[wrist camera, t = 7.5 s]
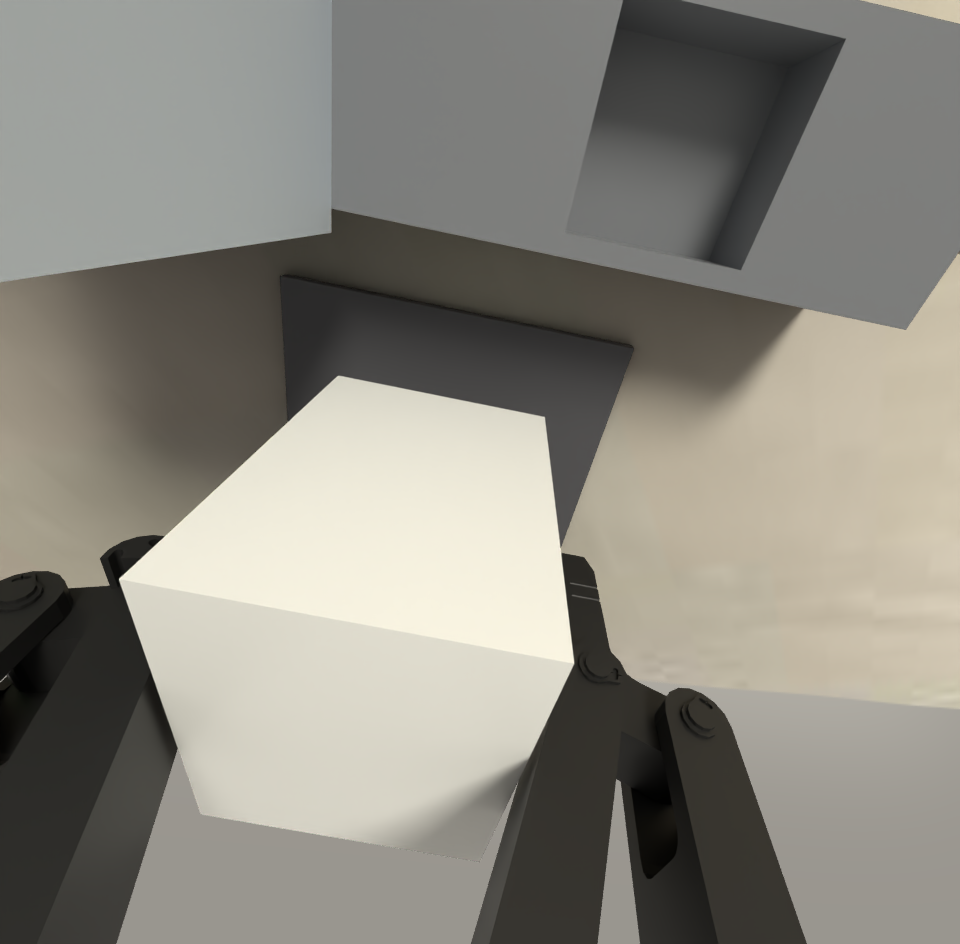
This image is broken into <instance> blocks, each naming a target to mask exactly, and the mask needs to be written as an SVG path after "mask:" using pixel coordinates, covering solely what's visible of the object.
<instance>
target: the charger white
mask: <svg viewBox="0 0 960 944" xmlns="http://www.w3.org/2000/svg"><path fill="white" fill-rule="evenodd" d="M119 581H120V584H121V587H122V590H123V593H124V596H125V599H126V601H127V604H128V607H129V610H130V613H131V616H132V619H133V621H134V624H135V627H136V630H137V633H138V636H139V639H140V641H141V644H142V647H143V650H144V653H145V656H146V659H147V662H148V664H149V667H150V670H151V673H152V676H153V679H154V682H155V684H156V687H157V690H158V693H159V696H160V699H161V702H162V705H163V707H164V710H165V713H166V716H167V719H168V722H169V725H170V727H171V730H172V733H173V736H174V739H175V742H176V745H177V748H178V750H179V753H180V756H181V759H182V762H183V764H184V768H185V770H186V773H187V776H188V779H189V782H190V785H191V788H192V790H193V793H194V796H195V799H196V802H197V805H198V808H199V810H200V813H201V814H202V815H207V816H213V817H219V818H225V819H231V820H237V821H242V822H249V823H254V824H260V825H266V826H271V827H277V828H283V829H289V830H295V831H301V832H307V833H312V834H318V835H324V836H330V837H336V838H341V839H347V840H353V841H359V842H365V843H371V844H377V845H382V846H388V847H394V848H400V849H406V850H411V851H417V852H423V853H429V854H435V855H441V856H447V857H453V858H458V859H464V860H470V861H476V862H480V860H481V858H482V856H483V854H484V852H485V850H486V848H487V846H488V844H489V841H490V839H491V837H492V835H493V833H494V831H495V829H496V827H497V825H498V823H499V821H500V818H501V816H502V814H503V812H504V810H505V808H506V806H507V804H508V802H509V800H510V798H511V795H512V793H513V791H514V789H515V787H516V785H517V783H518V781H519V779H520V777H521V774H522V772H523V770H524V768H525V766H526V764H527V762H528V760H529V758H530V756H531V753H532V751H533V749H534V747H535V745H536V743H537V741H538V739H539V737H540V735H541V732H542V730H543V728H544V726H545V724H546V722H547V720H548V718H549V716H550V714H551V711H552V709H553V707H554V705H555V703H556V701H557V699H558V697H559V695H560V693H561V690H562V688H563V686H564V684H565V682H566V680H567V678H568V676H569V674H570V672H571V669H572V667H573V665H574V657H573V649H572V641H571V632H570V624H569V616H568V607H567V599H566V590H565V582H564V574H563V565H562V557H561V549H560V540H559V532H558V524H557V515H556V507H555V498H554V490H553V482H552V473H551V465H550V457H549V448H548V440H547V432H546V423H545V417H542V416H537V415H532V414H527V413H522V412H517V411H512V410H507V409H502V408H498V407H493V406H488V405H483V404H478V403H473V402H468V401H463V400H458V399H453V398H448V397H443V396H438V395H433V394H428V393H423V392H418V391H413V390H408V389H403V388H398V387H393V386H388V385H383V384H378V383H373V382H368V381H363V380H358V379H353V378H348V377H343V376H337V377H336V378H335V379H334V380H333V381H332V382H331V383H330V384H328V385H327V386H326V387H325V388H324V389H323V390H322V391H321V392H320V393H319V394H318V395H317V396H316V397H314V398H313V399H312V400H311V401H310V402H309V403H308V404H307V405H306V406H305V407H304V408H303V409H302V410H300V411H299V412H298V413H297V414H296V415H295V416H294V417H293V418H292V419H291V420H290V421H289V422H288V423H286V424H285V425H284V426H283V427H282V428H281V429H280V430H279V431H278V432H277V433H276V434H275V435H274V436H272V437H271V438H270V439H269V440H268V441H267V442H266V443H265V444H264V445H263V446H262V447H261V448H260V449H258V450H257V451H256V452H255V453H254V454H253V455H252V456H251V457H250V458H249V459H248V460H247V461H246V462H244V463H243V464H242V465H241V466H240V467H239V468H238V469H237V470H236V471H235V472H234V473H233V474H232V475H230V476H229V477H228V478H227V479H226V480H225V481H224V482H223V483H222V484H221V485H220V486H219V487H218V488H216V489H215V490H214V491H213V492H212V493H211V494H210V495H209V496H208V497H207V498H206V499H205V500H204V501H202V502H201V503H200V504H199V505H198V506H197V507H196V508H195V509H194V510H193V511H192V512H191V513H190V514H188V515H187V516H186V517H185V518H184V519H183V520H182V521H181V522H180V523H179V524H178V525H177V526H176V527H174V528H173V529H172V530H171V531H170V532H169V533H168V534H167V535H166V536H165V537H164V538H163V539H162V540H160V541H159V542H158V543H157V544H156V545H155V546H154V547H153V548H152V549H151V550H150V551H149V552H148V553H146V554H145V555H144V556H143V557H142V558H141V559H140V560H139V561H138V562H137V563H136V564H135V565H134V566H132V567H131V568H130V569H129V570H128V571H127V572H126V573H125V574H124V575H123V576H122V577H121V578H120V579H119Z"/></svg>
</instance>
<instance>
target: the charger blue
mask: <svg viewBox="0 0 960 944" xmlns="http://www.w3.org/2000/svg"><path fill="white" fill-rule="evenodd" d="M331 167H332V0H0V282H5V281H12V280H19V279H25V278H32V277H39V276H45V275H52V274H59V273H65V272H72V271H79V270H86V269H92V268H99V267H106V266H112V265H119V264H126V263H132V262H139V261H146V260H152V259H159V258H166V257H173V256H179V255H186V254H193V253H199V252H206V251H213V250H219V249H226V248H233V247H239V246H246V245H253V244H260V243H266V242H273V241H280V240H286V239H293V238H300V237H306V236H313V235H320V234H326V233H331Z"/></svg>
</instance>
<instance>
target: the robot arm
mask: <svg viewBox="0 0 960 944" xmlns="http://www.w3.org/2000/svg"><path fill="white" fill-rule="evenodd" d="M164 537H165V536H157V535H150V536H141V537H136V538H133V539H130V540H126V541H123V542H121V543H119V544H118V545H116V546H114V547H112V548H110V549H109V550H108V551H107V552H106V553H105V554H104V555H103V556H102V557H101V558H100V560H101V563H102V565H103V568H104V571H105V574H106V576H107V579H108V582H109V585H110V586H100V587H85V588H69V589H68V587H67V585H66V583H65V581H64V580H63V579H62V577H61V576H60V575H58V574H55V573H52V572H49V571H32V572H27V573H22V574H18V575H14V576H11V577H9V578H6V579H3V580H1V581H0V681H1V680H2V679H3V678H4V677H5V676H6V675H7V677H6V678H5V679H4V680H3V681H2V682H1V683H0V944H116V943H117V940H118V936H119V933H120V930H121V927H122V924H123V920H124V917H125V914H126V911H127V908H128V905H129V901H130V898H131V895H132V892H133V889H134V885H135V882H136V879H137V876H138V873H139V870H140V866H141V863H142V860H143V857H144V854H145V851H146V847H147V844H148V841H149V838H150V835H151V831H152V828H153V825H154V822H155V819H156V816H157V813H158V809H159V806H160V803H161V800H162V797H163V793H164V790H165V787H166V784H167V781H168V778H169V774H170V771H171V768H172V764H173V762H174V758H175V755H176V752H177V749H178V748H177V745H176V742H175V739H174V736H173V733H172V730H171V727H170V725H169V722H168V719H167V716H166V713H165V710H164V707H163V705H162V702H161V699H160V696H159V693H158V690H157V687H156V684H155V682H154V679H153V676H152V673H151V670H150V667H149V664H148V662H147V659H146V656H145V653H144V650H143V647H142V644H141V641H140V639H139V636H138V633H137V630H136V627H135V624H134V621H133V619H132V616H131V613H130V610H129V607H128V604H127V601H126V599H125V596H124V593H123V590H122V587H121V584H120V581H119V579H120V578H121V577H122V576H123V575H124V574H125V573H126V572H127V571H128V570H129V569H130V568H131V567H132V566H134V565H135V564H136V563H137V562H138V561H139V560H140V559H141V558H142V557H143V556H144V555H145V554H146V553H148V552H149V551H150V550H151V549H152V548H153V547H154V546H155V545H156V544H157V543H158V542H159V541H160V540H162V539H163V538H164ZM561 557H562V565H563V574H564V582H565V590H566V599H567V607H568V616H569V624H570V632H571V641H572V649H573V657H574V665H573V667H572V669H571V672H570V674H569V676H568V678H567V680H566V682H565V684H564V686H563V688H562V690H561V693H560V695H559V697H558V699H557V701H556V703H555V705H554V707H553V709H552V711H551V714H550V716H549V718H548V720H547V722H546V724H545V726H544V728H543V730H542V732H541V735H540V737H539V739H538V741H537V743H536V745H535V747H534V749H533V751H532V753H531V756H530V758H529V760H528V762H527V764H526V766H525V768H524V770H523V772H522V774H521V777H520V779H519V782H518V785H517V788H516V792H515V795H514V799H513V802H512V805H511V809H510V812H509V816H508V819H507V823H506V826H505V830H504V833H503V836H502V840H501V843H500V847H499V850H498V853H497V857H496V860H495V864H494V867H493V871H492V874H491V877H490V881H489V884H488V888H487V891H486V894H485V898H484V901H483V904H482V908H481V911H480V915H479V918H478V922H477V925H476V928H475V932H474V935H473V939H472V942H471V944H597V943H598V934H599V924H600V916H601V907H602V899H603V890H604V881H605V872H606V863H607V854H608V845H609V836H610V827H611V819H612V810H613V801H614V792H615V782H616V779H617V780H619V781H621V787H622V796H623V804H624V812H625V820H626V829H627V837H628V845H629V854H630V862H631V870H632V878H633V888H634V896H635V904H636V912H637V921H638V929H639V937H640V944H807V943H806V940H805V937H804V934H803V932H802V929H801V926H800V923H799V920H798V917H797V915H796V911H795V909H794V906H793V903H792V900H791V897H790V894H789V892H788V888H787V886H786V883H785V880H784V877H783V874H782V872H781V869H780V865H779V863H778V860H777V857H776V854H775V851H774V849H773V846H772V843H771V840H770V837H769V834H768V831H767V828H766V825H765V823H764V819H763V817H762V814H761V811H760V808H759V805H758V802H757V799H756V796H755V794H754V791H753V788H752V785H751V782H750V779H749V776H748V774H747V771H746V768H745V765H744V762H743V759H742V756H741V753H740V750H739V748H738V745H737V742H736V739H735V736H734V733H733V730H732V728H731V726H730V724H729V722H728V720H727V718H726V716H725V714H724V713H723V712H722V711H721V710H720V709H719V707H718V706H717V705H716V704H715V703H714V702H713V701H711V700H710V699H709V698H707V697H706V696H705V695H703V694H702V693H699V692H697V691H694V690H692V689H688V688H677V689H675V690H673V691H671V692H669V694H668V695H667V696H665V695H663V694H661V693H659V692H657V691H655V690H653V689H651V688H649V687H647V686H645V685H643V684H641V683H639V682H637V681H636V680H634V679H632V678H631V677H630V676H629V675H627V674H626V672H625V670H624V668H623V666H622V664H621V662H620V661H619V660H618V659H617V658H616V657H615V656H614V655H613V654H612V653H611V651H610V648H609V643H608V638H607V633H606V628H605V623H604V618H603V613H602V609H601V604H600V602H599V594H598V590H597V584H596V579H595V574H594V571H593V569H592V568H591V567H590V565H589V564H588V562H587V561H586V559H585V558H584V557H580V556H575V555H570V554H564V553H561Z"/></svg>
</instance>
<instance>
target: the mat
mask: <svg viewBox="0 0 960 944" xmlns="http://www.w3.org/2000/svg"><path fill="white" fill-rule="evenodd" d="M280 286H281V305H282V323H283V341H284V360H285V378H286V396H287V415H288V422H289V421H290V420H291V419H292V418H293V417H294V416H295V415H296V414H297V413H298V412H299V411H300V410H302V409H303V408H304V407H305V406H306V405H307V404H308V403H309V402H310V401H311V400H312V399H313V398H314V397H316V396H317V395H318V394H319V393H320V392H321V391H322V390H323V389H324V388H325V387H326V386H327V385H328V384H330V383H331V382H332V381H333V380H334V379H335V378H336V377H337V376H343V377H348V378H353V379H358V380H363V381H368V382H373V383H378V384H383V385H388V386H393V387H398V388H403V389H408V390H413V391H418V392H423V393H428V394H433V395H438V396H443V397H448V398H453V399H458V400H463V401H468V402H473V403H478V404H483V405H488V406H493V407H498V408H502V409H507V410H512V411H517V412H522V413H527V414H532V415H537V416H542V417H545V423H546V432H547V440H548V448H549V457H550V465H551V473H552V482H553V490H554V498H555V507H556V515H557V524H558V532H559V540H560V548H561V546H562V543H563V540H564V538H565V535H566V532H567V529H568V527H569V524H570V521H571V519H572V516H573V513H574V510H575V508H576V505H577V502H578V500H579V497H580V494H581V491H582V489H583V486H584V483H585V481H586V478H587V475H588V472H589V470H590V467H591V464H592V462H593V459H594V456H595V453H596V451H597V448H598V445H599V443H600V440H601V437H602V434H603V432H604V429H605V426H606V424H607V421H608V418H609V415H610V413H611V410H612V407H613V405H614V402H615V399H616V397H617V394H618V391H619V388H620V386H621V383H622V380H623V378H624V375H625V372H626V369H627V367H628V364H629V361H630V359H631V356H632V353H633V350H634V348H633V347H632V345H627V344H622V343H617V342H612V341H608V340H603V339H598V338H593V337H588V336H583V335H578V334H573V333H569V332H564V331H559V330H554V329H549V328H544V327H539V326H534V325H530V324H525V323H520V322H515V321H510V320H505V319H500V318H496V317H491V316H486V315H481V314H476V313H471V312H466V311H461V310H457V309H452V308H447V307H442V306H437V305H432V304H427V303H422V302H418V301H413V300H408V299H403V298H398V297H393V296H388V295H384V294H379V293H374V292H369V291H364V290H359V289H354V288H349V287H345V286H340V285H335V284H330V283H325V282H320V281H315V280H311V279H306V278H301V277H296V276H291V275H286V274H285V275H282V276H280Z"/></svg>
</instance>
